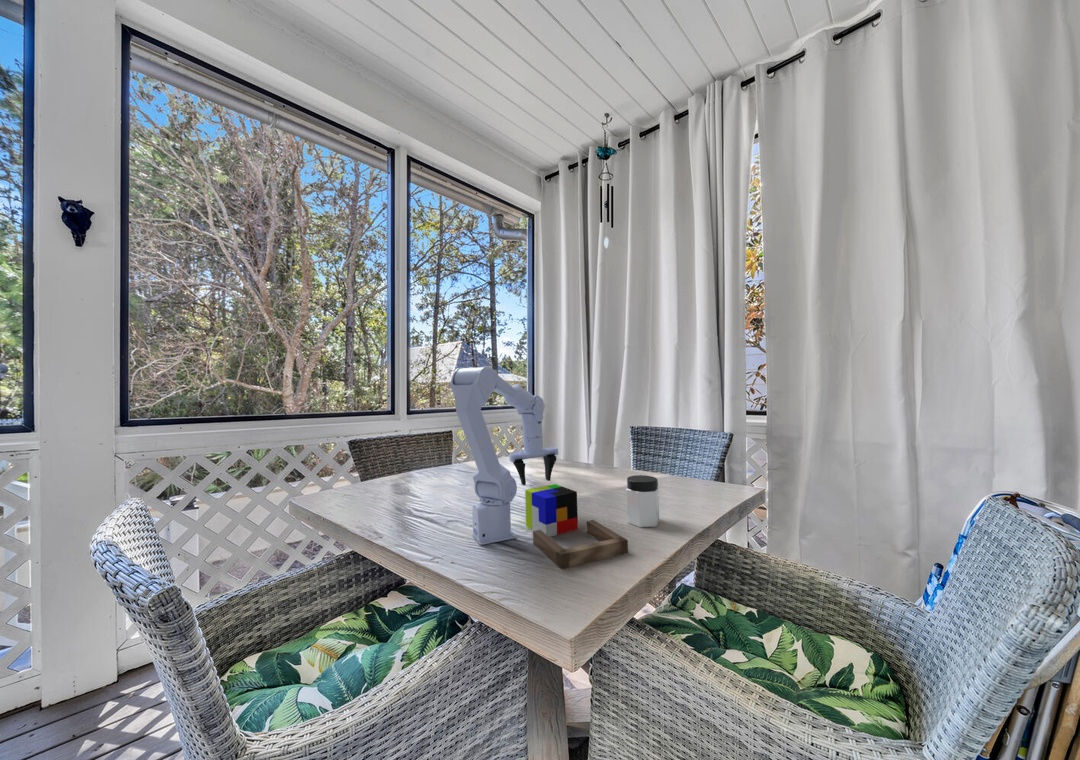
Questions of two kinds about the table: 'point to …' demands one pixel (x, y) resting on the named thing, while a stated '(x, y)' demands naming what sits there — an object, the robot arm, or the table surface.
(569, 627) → the table surface
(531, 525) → the puzzle toy
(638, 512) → the jar
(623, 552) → the walnut frame
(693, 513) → the table surface
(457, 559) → the table surface
